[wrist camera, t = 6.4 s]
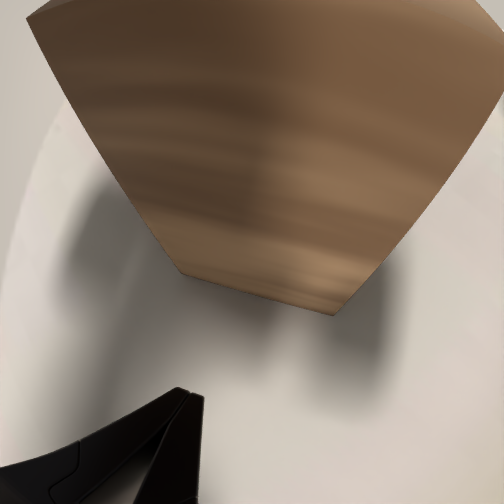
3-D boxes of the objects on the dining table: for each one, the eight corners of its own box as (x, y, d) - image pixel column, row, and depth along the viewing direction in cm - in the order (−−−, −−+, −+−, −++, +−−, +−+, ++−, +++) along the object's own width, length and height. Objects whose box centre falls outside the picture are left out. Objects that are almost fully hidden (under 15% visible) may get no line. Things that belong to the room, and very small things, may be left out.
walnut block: (332, 316, 15) (521, 56, 2) (181, 273, 16) (25, 18, 3) (363, 141, 19) (413, -54, 6) (249, 116, 21) (235, -77, 8)
